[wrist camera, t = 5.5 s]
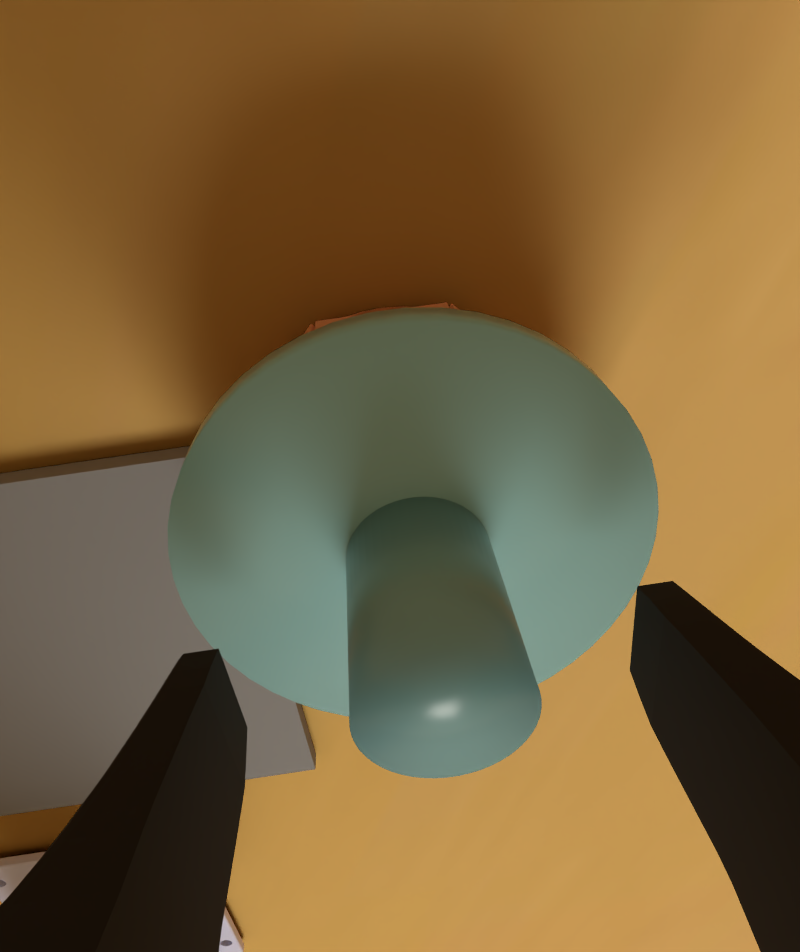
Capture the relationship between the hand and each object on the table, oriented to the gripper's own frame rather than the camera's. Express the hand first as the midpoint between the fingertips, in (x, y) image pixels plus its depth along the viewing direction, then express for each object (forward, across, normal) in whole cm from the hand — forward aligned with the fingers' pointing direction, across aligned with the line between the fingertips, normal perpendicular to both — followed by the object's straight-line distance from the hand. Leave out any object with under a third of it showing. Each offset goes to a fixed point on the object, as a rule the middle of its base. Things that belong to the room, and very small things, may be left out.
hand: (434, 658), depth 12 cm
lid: (+3, 0, 0) cm, 4 cm away
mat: (+8, +10, +6) cm, 14 cm away
